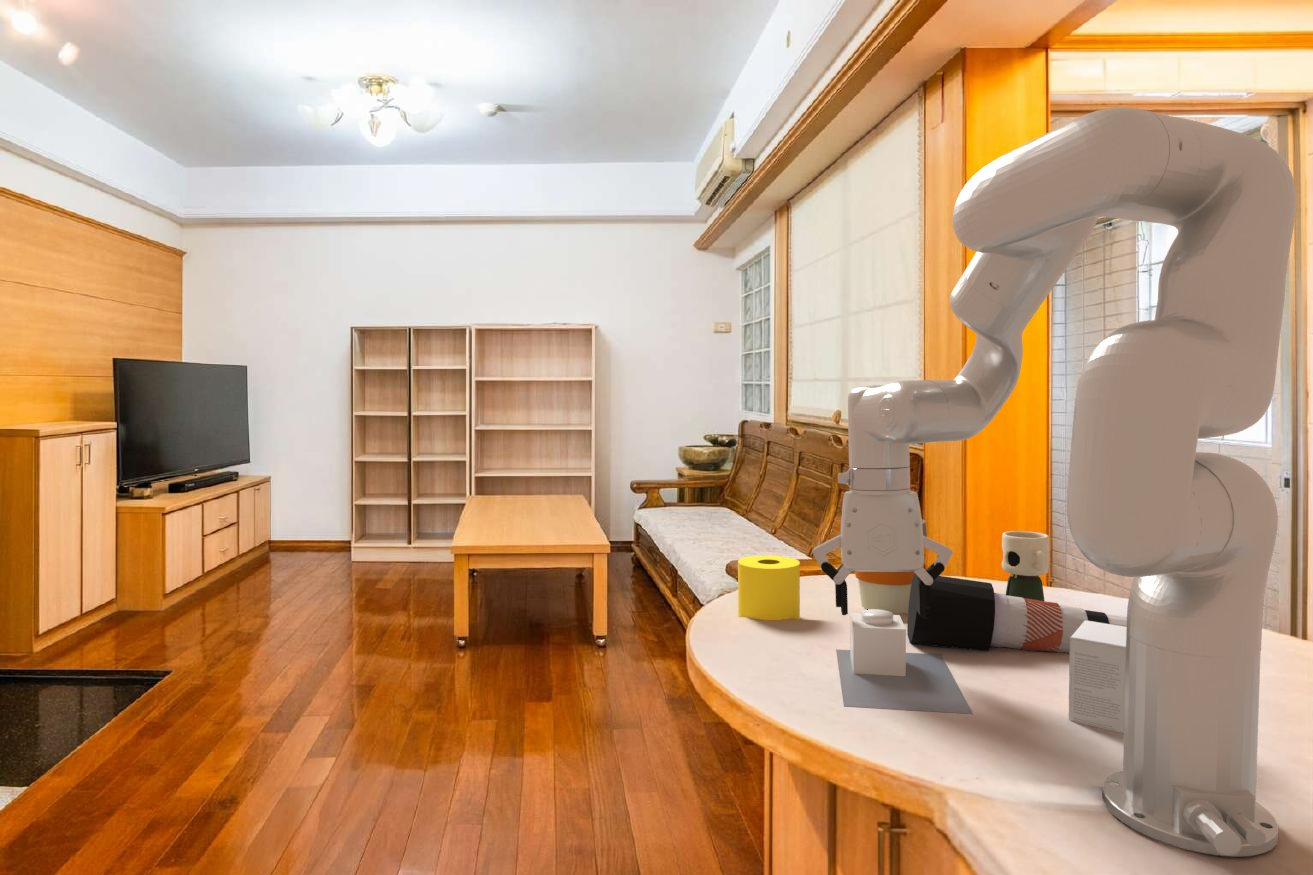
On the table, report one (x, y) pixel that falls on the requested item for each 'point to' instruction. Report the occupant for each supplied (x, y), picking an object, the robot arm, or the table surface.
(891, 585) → the reusable coffee cup
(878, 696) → the plate
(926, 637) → the black and white bottle
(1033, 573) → the character mug
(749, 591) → the yellow toilet paper roll
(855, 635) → the white push button box
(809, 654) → the table surface
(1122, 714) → the small box
